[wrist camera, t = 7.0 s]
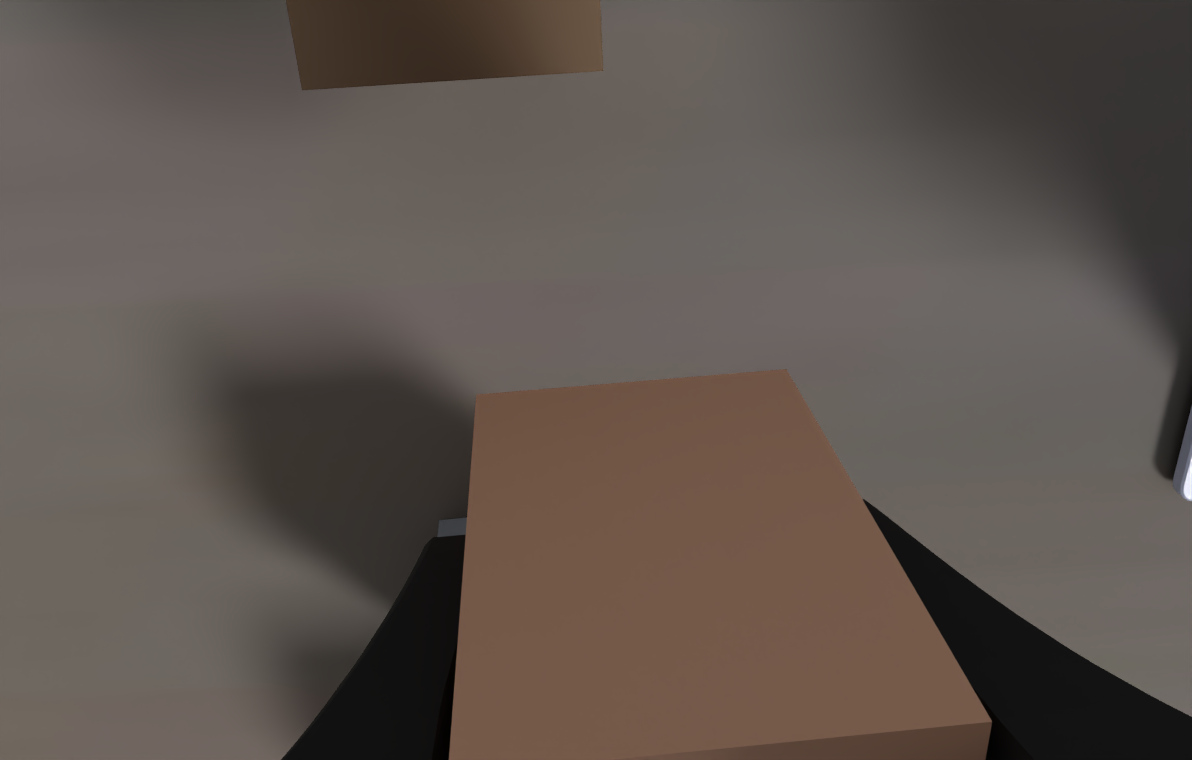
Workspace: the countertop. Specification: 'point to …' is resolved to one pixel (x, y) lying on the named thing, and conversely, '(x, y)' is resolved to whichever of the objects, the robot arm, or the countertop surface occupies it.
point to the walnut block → (441, 40)
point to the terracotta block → (688, 588)
